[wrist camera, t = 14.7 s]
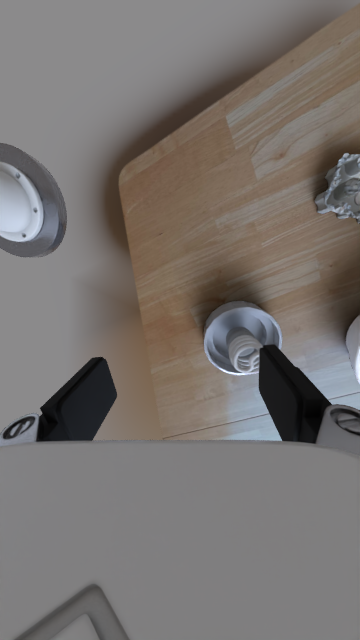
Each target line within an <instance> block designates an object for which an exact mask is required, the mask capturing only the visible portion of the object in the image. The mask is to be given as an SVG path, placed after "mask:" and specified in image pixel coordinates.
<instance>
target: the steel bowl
mask: <svg viewBox="0 0 360 640" xmlns="http://www.w3.org/2000/svg"><path fill="white" fill-rule="evenodd" d="M235 327H245V328H247V329H248V330H249V331H250V332H251V333H252V334H253V335H254V336H255V339H256V340H258V341H259V343H260V344H261V345H262V346H263V345H271V344H275V345H276V346H277V347H278V348H279V350H280V349H281V346H282V333H281V330H280V327H279V325H278V323H277V322H276V321H275V320H274V318H273V317H272V316H271V315H270V314H268V313H267V312H266V311H265V310H263V309H262V308H260V307H259V306H257V305H255V304H254V303H250V302H246V301H233V302H229V303H226V304H224V305H221V306H220V307H218V308H217V309H216V310H214V311H213V312H212V313H211V314H210V316H209V317H208V319H207V320H206V323H205V327H204V331H203V332H204V349H205V352H206V355H207V357H208V359H209V360H210V362H211V363H212V364H213V365H214V366H215V367H216V368H218V369H220V370H222V371H223V372H225V373H229V374H233V375H249V374H245V373H242V372H239V371H238V370H236V369H235V368H234V366H233V365H232V363H231V360H230V358H229V350H228V348H227V345H226V335H227V333H228V332H229V331H230V330H231V329H233V328H235ZM256 350H257V349H254V351H253V352H252V353H250V354H248V355H246V356H239V357H242V358H247V357H250V356H251V355H252V354H253V353H255V352H256Z"/></svg>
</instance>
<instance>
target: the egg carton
mask: <svg viewBox="0 0 360 640" xmlns="http://www.w3.org/2000/svg"><path fill="white" fill-rule="evenodd" d="M325 179H327V181H328V185H329V186H328V189H327V191H325V192H323V193H321V194H319V195H317V197H316V199H315V203H316V204H317V206H318V211H317V212H318V213H321V214H324V213H326V212H329V211H331V210H332V211H333V212H336V213H338V215H337V218H340V219H344V218H348V217H353V218H356V219H358V220H357V223H359V224H360V154H352V155H350V154H349V153H344V156H343V157H342V158H341V159H340V160H339V162H338V164H337V165H336V166H335V167H333V168H332V169H330V170H329V171H328V172H327V175H326V177H325Z"/></svg>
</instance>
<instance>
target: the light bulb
mask: <svg viewBox="0 0 360 640" xmlns="http://www.w3.org/2000/svg"><path fill="white" fill-rule="evenodd" d="M226 345H227V348H228V350H229V358H230V360H231V363H232V365H233V366H234V368H235V369H236V370H238V371H239V372H242V373H245V374H255V373H258V372H259V350H260V348H263V346H262V345H261V344H260V343H259V341H258V340H256V339H255V336H254V335H253V334H252V333H251V332H250V331H249V330H248V329H247V328H245V327H235V328H233V329H231V330H230V331H229V332H228V333H227V335H226ZM254 349H257V350H256V352H255V353H253V354H252V355H251V356H250V357H247V358H242V357H239V356H246V355H248V354H250V353H252V352H253V351H254Z"/></svg>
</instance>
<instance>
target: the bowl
mask: <svg viewBox="0 0 360 640" xmlns="http://www.w3.org/2000/svg"><path fill="white" fill-rule="evenodd" d="M346 346H347V349H348V351H349V359H350V363H351V366H352V369H353V371H354V373H355V376H356V378H357V380H358V381H359V383H360V315H359V316H358V317H357V318H356V319H355V320H354V321H353V323H352V324H351V325H350V327H349V330H348V332H347V336H346Z"/></svg>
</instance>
